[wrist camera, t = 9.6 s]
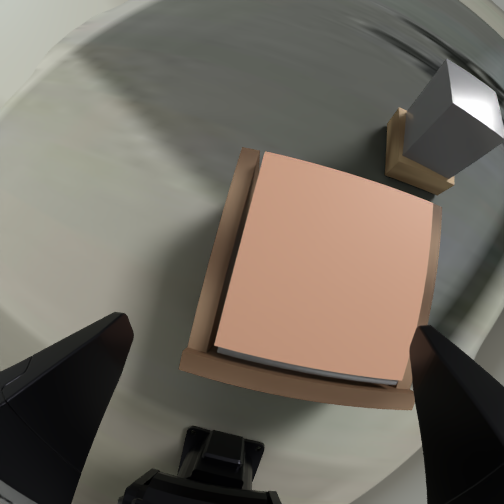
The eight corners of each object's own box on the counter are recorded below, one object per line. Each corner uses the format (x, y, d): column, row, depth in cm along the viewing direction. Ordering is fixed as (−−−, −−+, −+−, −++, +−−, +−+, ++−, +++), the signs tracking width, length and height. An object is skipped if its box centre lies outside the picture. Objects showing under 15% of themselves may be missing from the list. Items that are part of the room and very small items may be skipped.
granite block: (448, 179, 20) (505, 140, 12) (402, 155, 20) (452, 102, 12) (449, 135, 21) (495, 92, 13) (405, 112, 21) (446, 58, 13)
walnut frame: (362, 375, 21) (411, 410, 12) (206, 342, 21) (178, 369, 13) (393, 231, 22) (450, 202, 14) (246, 192, 23) (241, 138, 14)
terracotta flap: (392, 382, 13) (399, 387, 12) (214, 349, 14) (212, 353, 13) (424, 207, 15) (433, 202, 14) (264, 159, 15) (265, 151, 14)
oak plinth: (437, 195, 23) (454, 184, 20) (384, 175, 23) (398, 161, 20) (436, 144, 24) (450, 131, 21) (387, 123, 24) (399, 107, 21)
